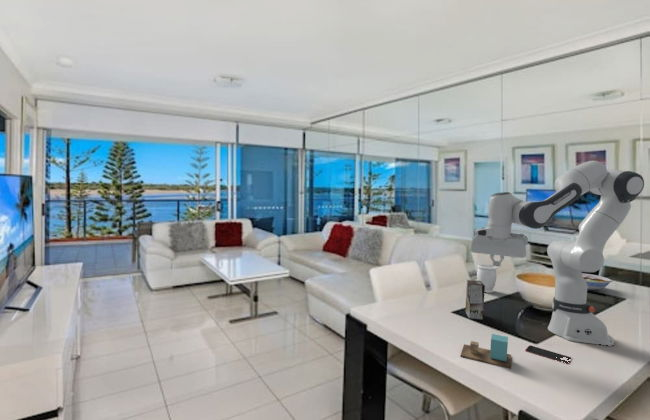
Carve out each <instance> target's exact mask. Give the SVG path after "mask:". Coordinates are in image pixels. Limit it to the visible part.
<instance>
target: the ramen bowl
mask: <svg viewBox="0 0 650 420" xmlns="http://www.w3.org/2000/svg"><path fill="white" fill-rule="evenodd" d="M582 275H583V278H584V280H585V281H586V283H587V291H595V290H601V289H604V288H606V287H607V286H609V284H610V283H612V279H610V278H608V277H605V276H601V275H596V274H591V273H586V272H582Z"/></svg>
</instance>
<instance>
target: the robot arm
mask: <svg viewBox="0 0 650 420" xmlns="http://www.w3.org/2000/svg"><path fill="white" fill-rule="evenodd" d="M553 187H554V190H555V192H554V193H553V194H552V195H550V196H548V197H547V198H546V199H544V200H541V201H540V200H539V201H525V200H522V199H520V198H518V197H516V196H515V195H513V194H512V193H511V192H508V191H507V192H505V191H503V192H496V193H493V194H492V195H491V196H490V197H489V201H488V207H487V216H488V219H487V220H488V221H487V223H486V225H487V226H485V227H480V228H477V229H475V231H474V236H473V237H472V240H471V243H470V244H471V245H470V252H471V253H474V254H484V255H489V258H490V259H491V261H492V266H496V267H501V266H502V265H501V264H502V262H503V261H504V260H505V257H512V258H520V259H521V258H522V259H524V258H525V257H526V256H527V250H526V249H527V248H526V246H527V245H528V242H529V238H528V237H527V235H525V234H524V233H513V232H512V225H513V224H515V225H520V226H524V227H528V228H531V229H534V230H535V229H536V230H537V229H541V228H543V227H545V226H546V225H547V224H549V222H551V220H552V219H553V218H554V216H556V215H557V214H558V213H559V212H561V211H562V210H563V209H565V208H566V207H568V206H569V205H571V204H572V203H574V202H575V201H577V200H578V199H579V198H580V197H581V196H583V195H584V194H586V193H589V194H592V195H599V196H600V199H599V202H598V203H597V204H596V205H595V206H594V207H593V208H592V209H591V210H590V212H588V214H587V215H586V216H585V218H583V220H582V221H581V222H580V223H579V225H578V231H579V233H578V235H577V238H576V239H575V240H573V241H571V240H567V239H558V240H554V241H553V240H552V241H551V243H550V244H548V245H547V249H546V251H547V253H546V254H547V256H548V257H549V259H550V260H551V263H552V264H551V265H552V268H553V273H554V279H555V280H554V281H555V282H554V296H553V298H552V304H551V305H552V306H551V307H552V314H551V319H550V321H549V324H548V326H547V330H548V331H549V332H551V333H552V334H554V335H556V336H559V337H562V338H564V339H566V341H570V342H576V343H585V344H593V345H599V344H601V345H600V346H606V345H608V346H607V347H613V346H615V340H614V337H612V336H611V335H610V334H609V333H608V328H607V326H606V324H605V323H604V321H602V320H601V319H600V318H598V317H597V315H595V314H594V312H595V311H596V309H595V307H594V306H593V305H591V303H589V302H587V297H588V290H587V283H586V281H585V280H584V278H583V275H582V273H596V272H597V271H599V270H601V269H602V267H603V266H604V264H605V257H604V255H603V252H604V249H605V245H606V243H607V242H608V240H609V239H610V237H612V235H613V234H614V233H615V231H616V230H617V229H618V228H619V227H620V226H621V224H622V223H623V222H624V220H625V219H626V218H627V216H628V214H629V213H630V210H631V207H632V205H631V202H633V201H634V200H636V198H637V197H638V196H640V194H641V193H642V191H643V189H644V188H645V180H644V177H643V176H642V175H641V174H639V173H637V172H635V171H630V170H622V169H621V170H619V169H607V167H606V166H605V165H604V164H603V162H600V161H598V160H589V161H588V160H587V161H585V162H583V163H580V164H577V165H576V166H573V167H571V168H570V169H568V170H565V171H564V172H563V173H561V174H560V175H558V176H557V178H555V181H554V186H553ZM495 256H499V258H500V259H499V261H498V260H495ZM612 345H613V346H612Z"/></svg>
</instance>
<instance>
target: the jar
mask: <svg viewBox="0 0 650 420" xmlns="http://www.w3.org/2000/svg"><path fill="white" fill-rule="evenodd" d="M497 267H498V266H493V264H481V263H480V264H477V268H478V269H477V273H476V279H477V280H476V281H481V282H482V283H483V284H484V285H485V292H486V294H492V293H494V292H495V291H494V288H495V286H496V282H497V269H498V268H497ZM485 292H484V293H485Z"/></svg>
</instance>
